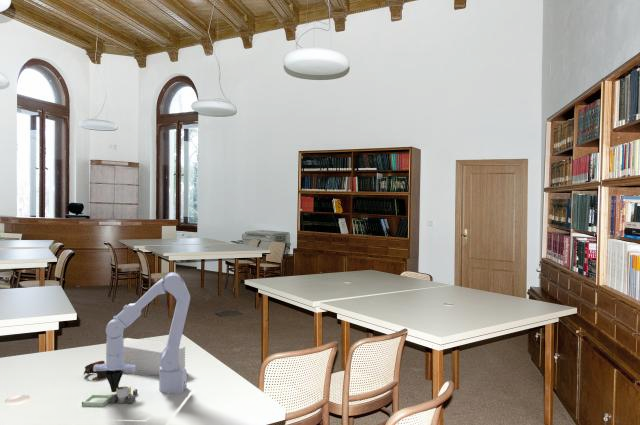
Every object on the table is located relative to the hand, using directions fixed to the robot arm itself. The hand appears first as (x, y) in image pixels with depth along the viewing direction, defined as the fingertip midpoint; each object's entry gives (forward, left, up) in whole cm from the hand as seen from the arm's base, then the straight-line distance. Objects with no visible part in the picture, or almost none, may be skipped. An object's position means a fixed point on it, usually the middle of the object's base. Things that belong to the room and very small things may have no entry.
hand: (114, 391), depth 173 cm
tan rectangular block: (-3, 0, -1) cm, 3 cm away
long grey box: (0, -30, -3) cm, 30 cm away
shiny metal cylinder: (-6, +7, -2) cm, 9 cm away
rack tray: (+3, +7, -2) cm, 8 cm away
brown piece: (+14, -19, -3) cm, 23 cm away
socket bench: (-2, +3, -2) cm, 4 cm away
